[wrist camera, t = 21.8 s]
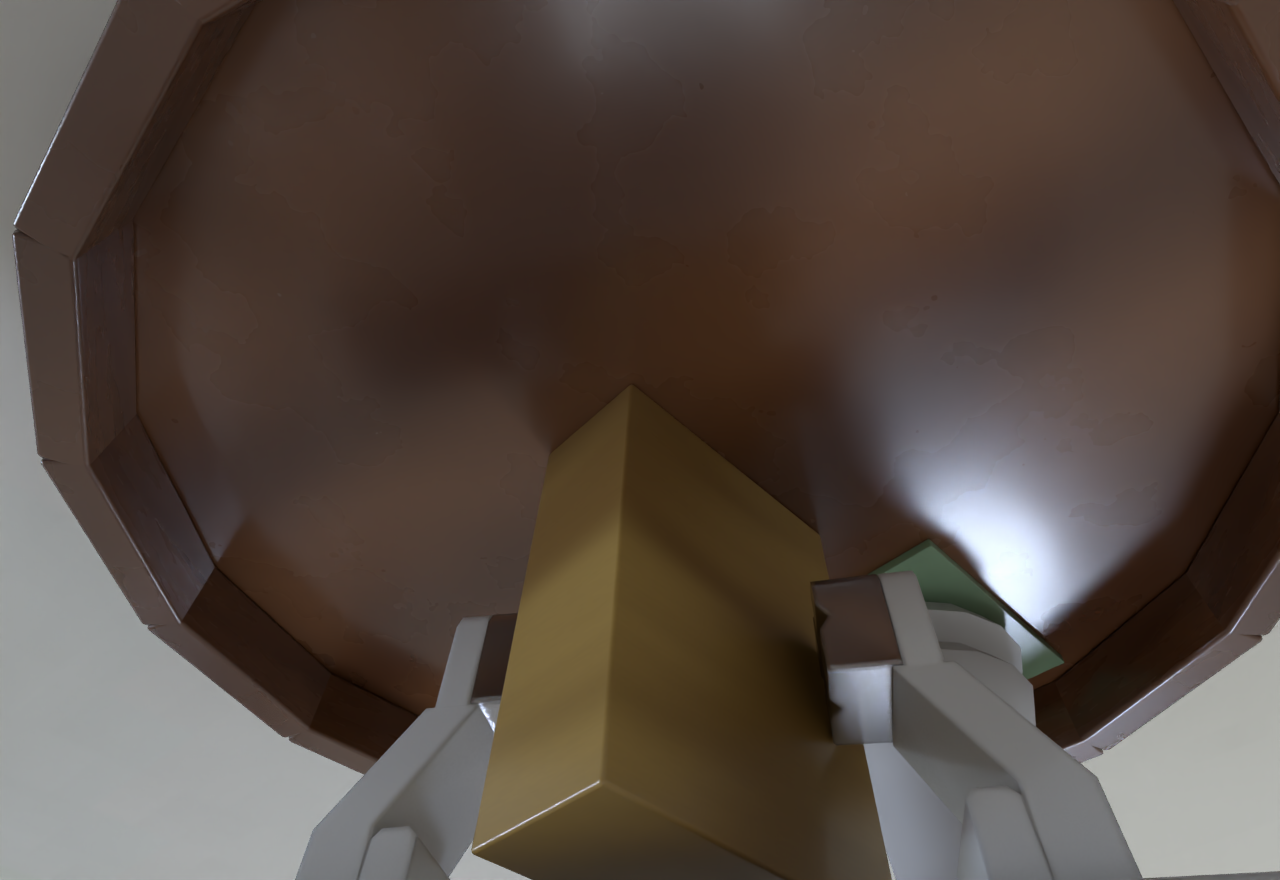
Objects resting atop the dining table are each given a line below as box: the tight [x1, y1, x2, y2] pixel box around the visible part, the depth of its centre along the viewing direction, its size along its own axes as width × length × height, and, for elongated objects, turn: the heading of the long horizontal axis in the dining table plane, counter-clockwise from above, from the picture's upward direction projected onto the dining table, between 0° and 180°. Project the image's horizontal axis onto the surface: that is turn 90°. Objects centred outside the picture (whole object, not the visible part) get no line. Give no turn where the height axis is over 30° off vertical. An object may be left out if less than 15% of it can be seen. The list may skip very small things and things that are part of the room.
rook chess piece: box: [864, 602, 1036, 880], centre depth 14 cm, size 4×4×8 cm
